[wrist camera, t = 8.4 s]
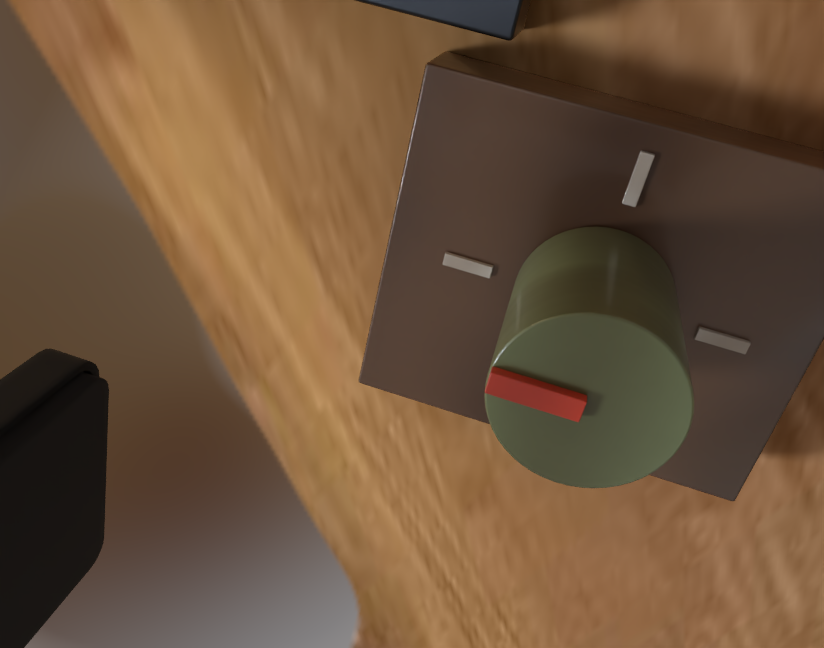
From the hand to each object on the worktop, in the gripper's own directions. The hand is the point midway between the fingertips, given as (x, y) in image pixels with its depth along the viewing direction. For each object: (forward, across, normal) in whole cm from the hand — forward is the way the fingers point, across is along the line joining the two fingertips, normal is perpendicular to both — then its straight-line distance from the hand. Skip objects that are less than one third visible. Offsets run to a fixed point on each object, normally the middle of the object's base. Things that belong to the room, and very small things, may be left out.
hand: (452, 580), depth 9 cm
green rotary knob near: (+13, -2, +2) cm, 14 cm away
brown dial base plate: (+16, -2, +2) cm, 16 cm away
